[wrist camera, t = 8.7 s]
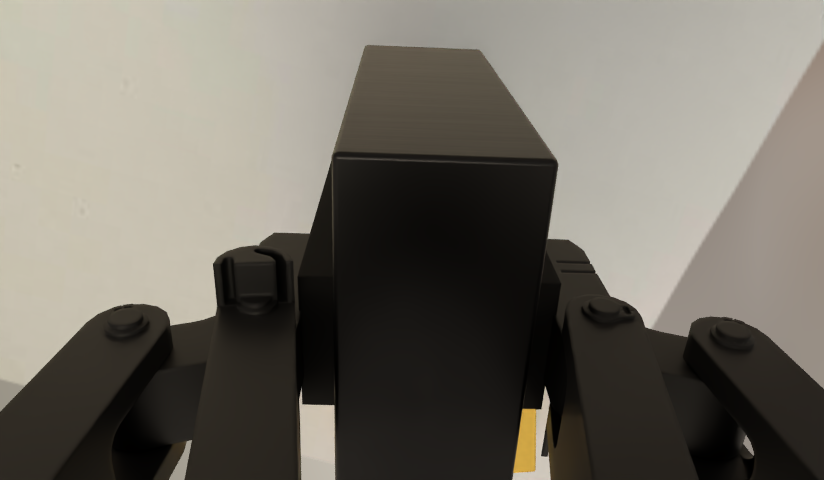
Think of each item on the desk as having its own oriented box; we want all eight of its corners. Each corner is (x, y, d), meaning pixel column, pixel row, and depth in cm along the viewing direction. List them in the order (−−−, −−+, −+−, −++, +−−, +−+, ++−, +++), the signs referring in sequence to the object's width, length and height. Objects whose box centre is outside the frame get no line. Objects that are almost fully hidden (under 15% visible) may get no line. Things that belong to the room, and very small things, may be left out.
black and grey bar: (364, 44, 16) (330, 152, 8) (481, 49, 17) (560, 161, 8) (359, 549, 24) (339, 857, 16) (438, 550, 24) (458, 856, 16)
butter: (525, 362, 38) (536, 402, 34) (525, 429, 40) (535, 471, 37) (439, 368, 38) (442, 408, 35) (444, 434, 40) (447, 477, 37)
